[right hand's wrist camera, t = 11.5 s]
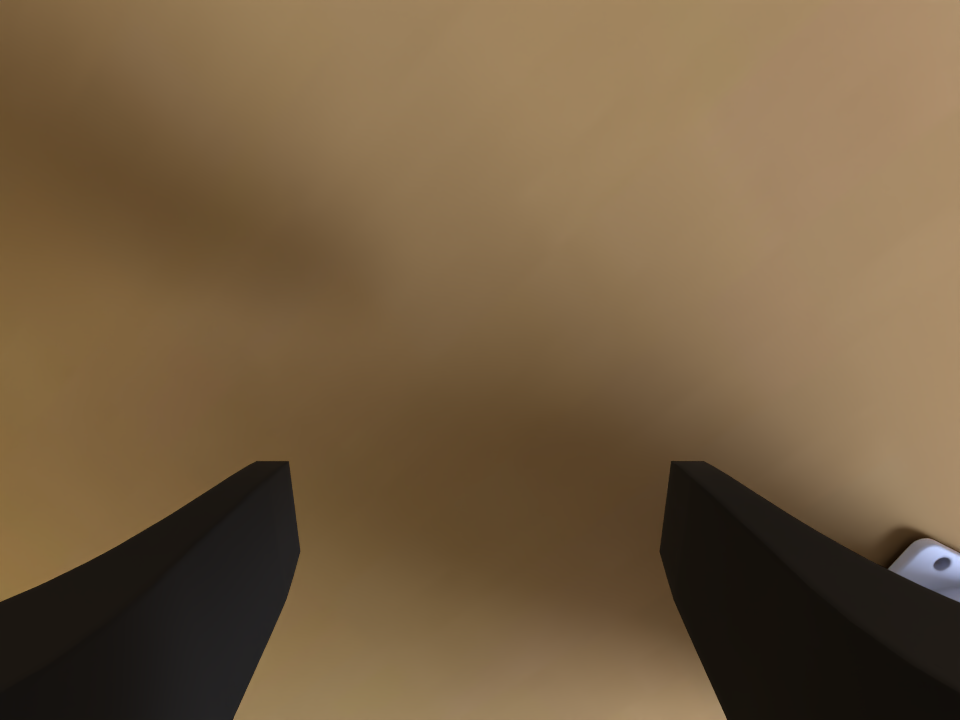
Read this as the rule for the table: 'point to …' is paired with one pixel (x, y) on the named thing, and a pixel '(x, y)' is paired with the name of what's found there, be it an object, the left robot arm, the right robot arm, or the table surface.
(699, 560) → the right robot arm
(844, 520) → the table surface
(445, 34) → the table surface
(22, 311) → the table surface
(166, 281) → the table surface
